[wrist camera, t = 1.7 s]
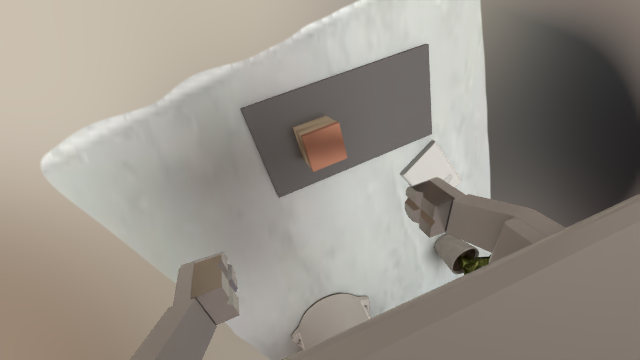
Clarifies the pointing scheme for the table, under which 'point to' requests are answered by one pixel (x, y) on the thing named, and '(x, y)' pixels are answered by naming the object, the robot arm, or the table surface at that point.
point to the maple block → (320, 142)
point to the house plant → (459, 254)
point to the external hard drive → (430, 167)
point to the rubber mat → (346, 116)
